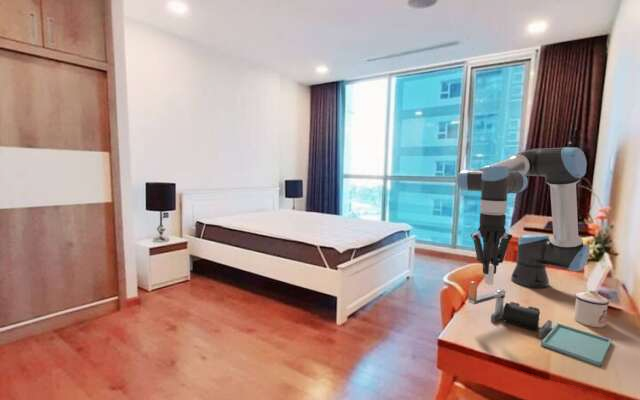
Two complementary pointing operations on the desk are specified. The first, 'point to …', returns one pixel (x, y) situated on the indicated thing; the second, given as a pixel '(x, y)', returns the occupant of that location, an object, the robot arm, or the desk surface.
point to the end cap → (521, 315)
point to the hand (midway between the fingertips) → (488, 283)
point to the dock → (499, 313)
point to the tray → (577, 344)
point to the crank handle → (482, 298)
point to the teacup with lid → (591, 309)
